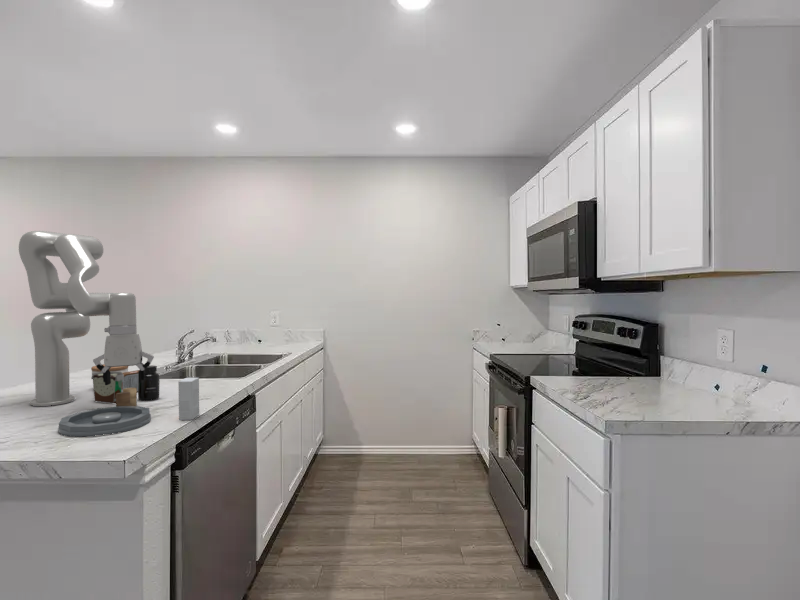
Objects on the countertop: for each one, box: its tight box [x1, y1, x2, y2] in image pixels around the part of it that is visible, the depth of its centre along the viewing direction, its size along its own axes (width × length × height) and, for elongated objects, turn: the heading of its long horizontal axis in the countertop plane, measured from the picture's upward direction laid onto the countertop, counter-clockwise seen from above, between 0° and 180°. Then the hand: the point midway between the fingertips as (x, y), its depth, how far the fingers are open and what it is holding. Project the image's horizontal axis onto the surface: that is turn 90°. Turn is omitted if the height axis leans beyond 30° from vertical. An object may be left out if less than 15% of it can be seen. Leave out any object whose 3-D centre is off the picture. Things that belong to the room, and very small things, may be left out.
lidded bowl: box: [90, 363, 129, 374], centre depth 183 cm, size 13×13×11 cm
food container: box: [91, 372, 124, 404], centre depth 162 cm, size 12×6×10 cm, turn 71°
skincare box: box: [178, 377, 200, 421], centre depth 141 cm, size 6×4×12 cm
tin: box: [121, 369, 140, 393], centre depth 175 cm, size 15×3×8 cm, turn 159°
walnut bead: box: [115, 392, 130, 406], centre depth 148 cm, size 4×4×6 cm
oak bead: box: [123, 388, 138, 406], centre depth 154 cm, size 4×4×6 cm
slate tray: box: [57, 405, 152, 438], centre depth 133 cm, size 23×23×3 cm
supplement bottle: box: [137, 364, 161, 402], centre depth 165 cm, size 7×7×12 cm
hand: (124, 383), depth 147 cm, fingers open, 9 cm apart
